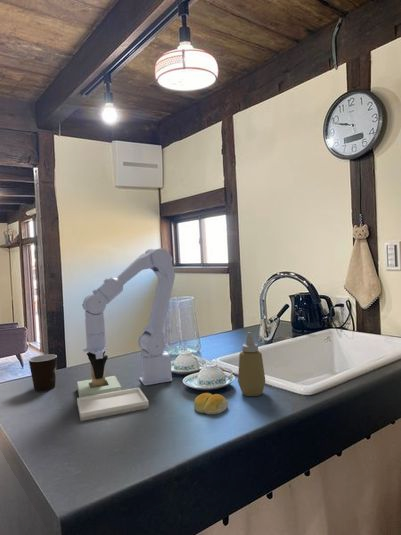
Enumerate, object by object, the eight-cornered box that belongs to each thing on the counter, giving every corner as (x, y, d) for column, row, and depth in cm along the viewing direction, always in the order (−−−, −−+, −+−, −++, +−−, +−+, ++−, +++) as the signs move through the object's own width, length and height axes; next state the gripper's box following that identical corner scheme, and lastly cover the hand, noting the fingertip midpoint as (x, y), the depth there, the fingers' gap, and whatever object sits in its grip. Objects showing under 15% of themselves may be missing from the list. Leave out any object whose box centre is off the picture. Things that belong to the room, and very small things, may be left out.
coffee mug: (49, 393, 122) (47, 361, 122) (24, 392, 124) (22, 361, 124) (68, 380, 134) (66, 352, 133) (46, 380, 135) (44, 352, 135)
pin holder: (115, 383, 129) (114, 375, 129) (121, 394, 118) (121, 386, 118) (77, 389, 125) (77, 381, 125) (80, 401, 114) (80, 393, 113)
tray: (139, 393, 118) (139, 387, 118) (148, 407, 107) (148, 400, 107) (77, 404, 111) (77, 398, 111) (80, 421, 100) (80, 413, 100)
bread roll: (204, 401, 110) (203, 387, 110) (231, 406, 106) (231, 392, 105) (187, 411, 104) (186, 396, 103) (216, 418, 99) (215, 402, 99)
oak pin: (104, 385, 124) (103, 361, 124) (106, 389, 120) (104, 364, 120) (91, 387, 122) (90, 362, 122) (93, 391, 119) (91, 366, 118)
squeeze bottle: (271, 392, 114) (269, 331, 113) (255, 400, 108) (252, 336, 108) (249, 386, 120) (246, 328, 119) (232, 394, 114) (230, 333, 113)
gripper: (80, 330, 126) (82, 372, 126) (84, 339, 112) (87, 385, 113) (102, 328, 128) (105, 368, 129) (109, 336, 115) (111, 381, 115)
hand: (98, 376), depth 121 cm, fingers closed on oak pin, 4 cm apart
